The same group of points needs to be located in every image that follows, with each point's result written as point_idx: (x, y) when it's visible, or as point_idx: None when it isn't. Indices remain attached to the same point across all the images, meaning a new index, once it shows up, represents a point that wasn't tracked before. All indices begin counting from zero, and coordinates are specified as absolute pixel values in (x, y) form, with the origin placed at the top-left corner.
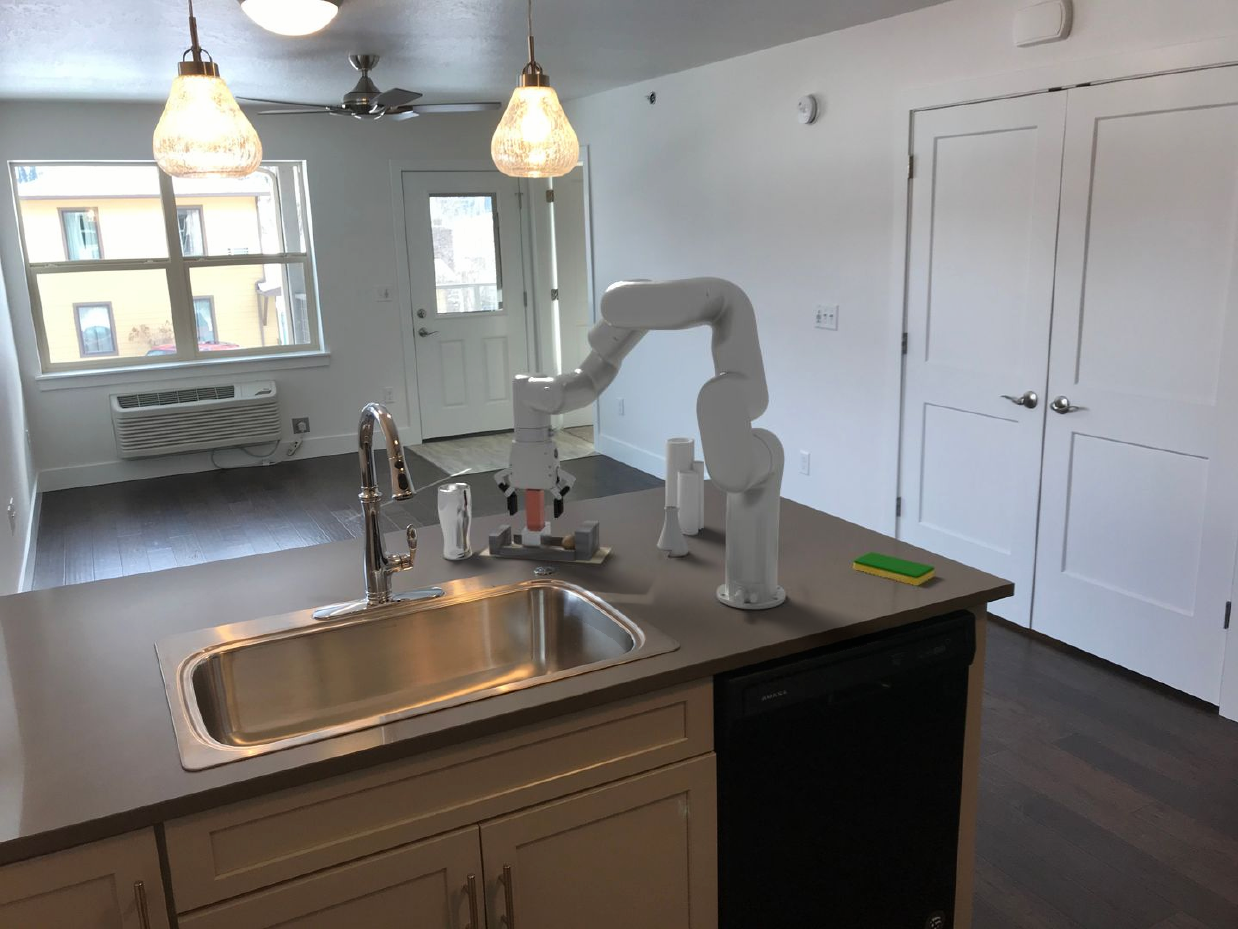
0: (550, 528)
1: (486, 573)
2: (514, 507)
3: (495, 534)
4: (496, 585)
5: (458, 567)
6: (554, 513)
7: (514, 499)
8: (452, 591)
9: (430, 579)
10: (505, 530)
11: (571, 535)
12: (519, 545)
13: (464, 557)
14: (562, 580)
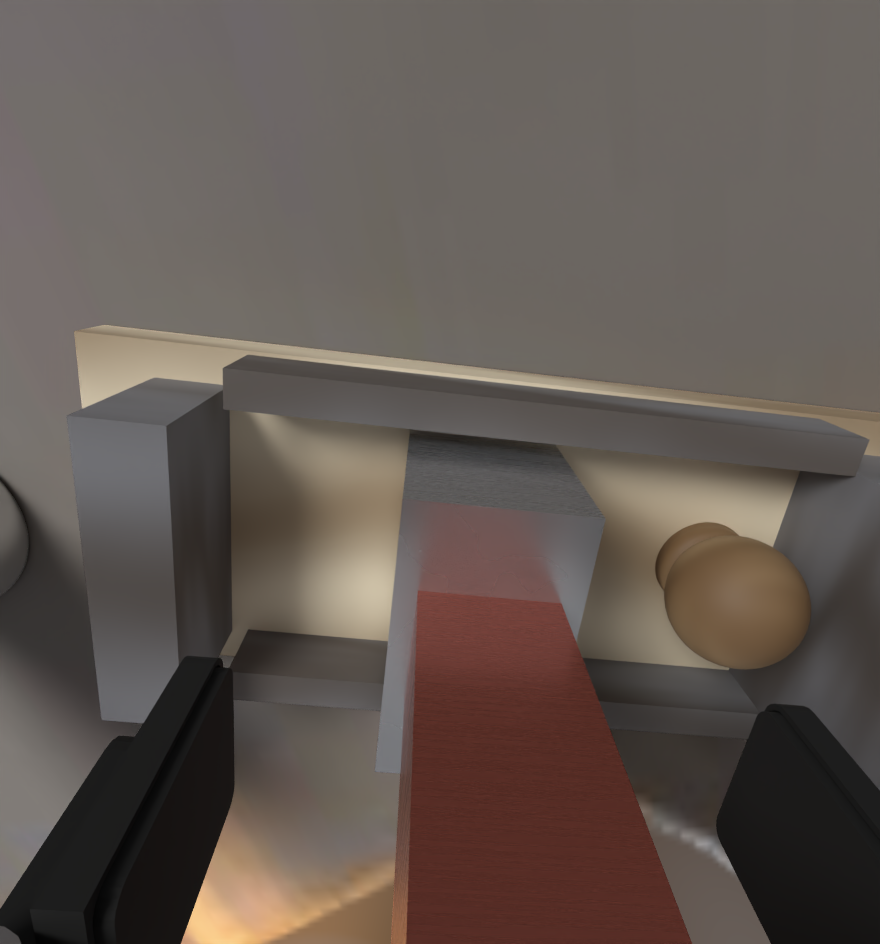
0: (586, 493)
1: (246, 758)
2: (203, 824)
3: (141, 687)
4: (349, 871)
5: (55, 697)
6: (744, 879)
7: (152, 940)
8: (185, 933)
9: (9, 840)
10: (176, 565)
11: (778, 648)
12: (309, 438)
13: (8, 588)
14: (644, 802)
